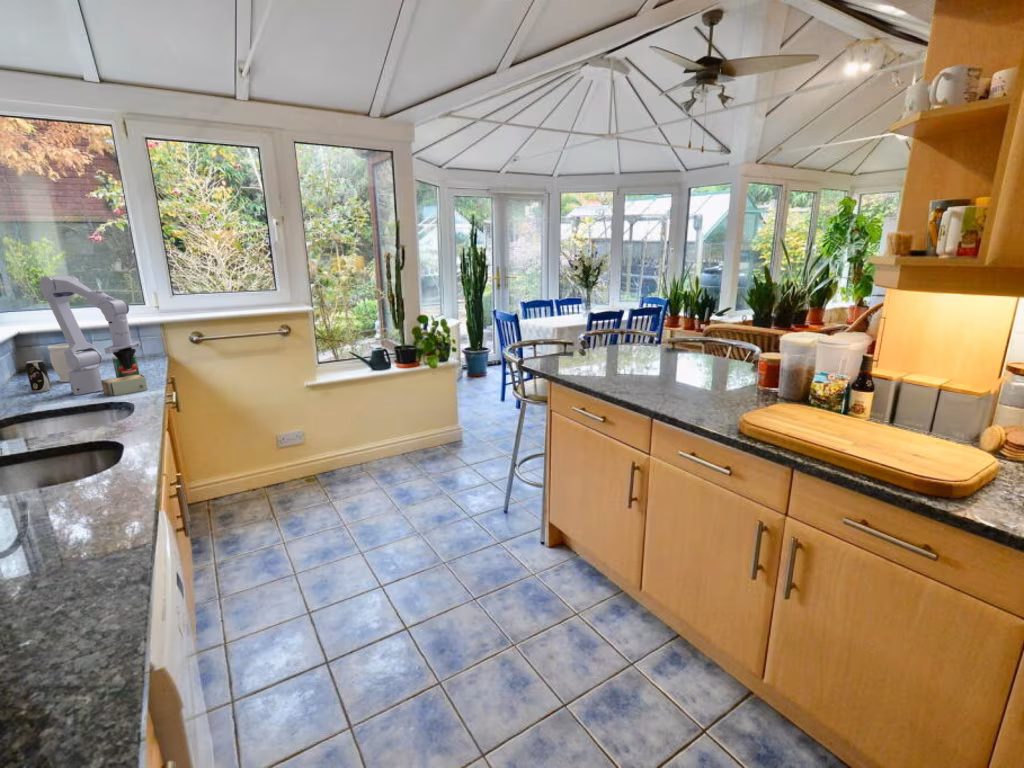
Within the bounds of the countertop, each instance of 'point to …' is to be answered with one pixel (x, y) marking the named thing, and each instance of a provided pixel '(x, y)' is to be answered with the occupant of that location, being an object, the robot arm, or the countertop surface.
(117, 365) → the canned tomato
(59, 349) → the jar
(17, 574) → the countertop surface
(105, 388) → the cabinet
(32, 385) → the beverage can
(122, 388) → the door
